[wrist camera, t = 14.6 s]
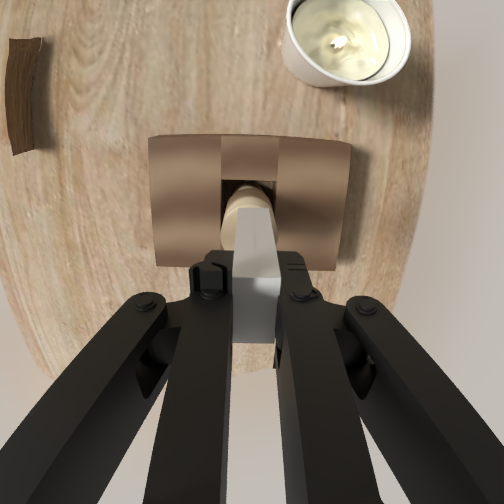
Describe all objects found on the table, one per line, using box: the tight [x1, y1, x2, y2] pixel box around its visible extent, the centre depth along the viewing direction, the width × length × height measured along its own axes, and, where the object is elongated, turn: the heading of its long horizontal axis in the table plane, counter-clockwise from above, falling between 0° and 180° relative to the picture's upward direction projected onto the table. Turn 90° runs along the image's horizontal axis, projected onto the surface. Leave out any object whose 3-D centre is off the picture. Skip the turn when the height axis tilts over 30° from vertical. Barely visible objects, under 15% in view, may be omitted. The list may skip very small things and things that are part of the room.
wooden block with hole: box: [148, 134, 352, 271], centre depth 33 cm, size 14×20×4 cm
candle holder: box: [281, 0, 411, 87], centre depth 22 cm, size 10×10×12 cm
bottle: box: [220, 181, 278, 251], centre depth 29 cm, size 4×4×12 cm
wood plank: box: [5, 37, 41, 156], centre depth 25 cm, size 15×2×5 cm, turn 179°
